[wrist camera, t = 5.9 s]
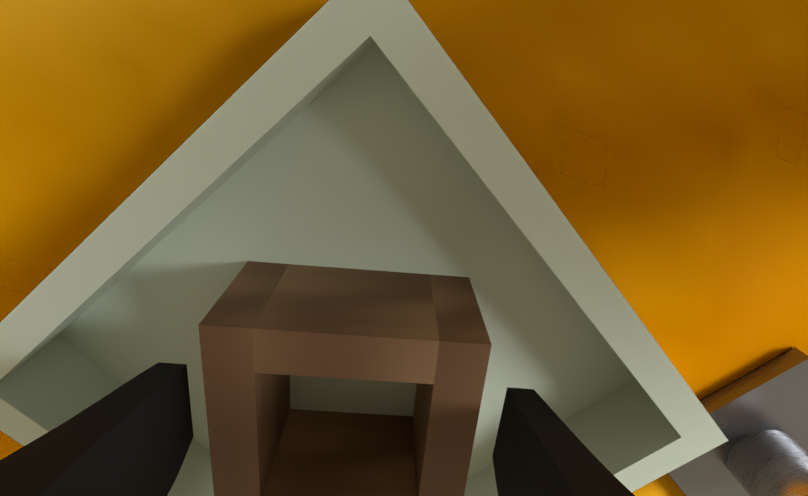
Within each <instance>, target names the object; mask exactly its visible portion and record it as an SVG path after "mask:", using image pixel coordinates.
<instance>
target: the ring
mask: <svg viewBox="0 0 808 496" xmlns="http://www.w3.org/2000/svg"><path fill="white" fill-rule="evenodd" d="M198 327H199V338H200V348H201V359H202V370H203V381H204V392H205V402H206V413H207V424H208V435H209V446H210V456H211V467H212V478H213V489H214V496H464V493H465V487H466V482H467V476H468V471H469V466H470V460H471V455H472V449H473V444H474V438H475V433H476V427H477V422H478V416H479V411H480V406H481V400H482V395H483V389H484V384H485V378H486V373H487V367H488V362H489V357H490V351H491V346H492V344H491V341H490V338H489V335H488V332H487V329H486V326H485V323H484V320H483V317H482V314H481V311H480V308H479V305H478V302H477V299H476V296H475V293H474V290H473V287H472V285H471V282H470V279H469V277H458V276H445V275H431V274H418V273H404V272H390V271H377V270H363V269H350V268H336V267H322V266H309V265H295V264H282V263H268V262H255V261H248V262H247V263H246V264H245V266H244V267H243V268H242V270H241V271H240V272H239V273H238V275H237V276H236V277H235V279H234V280H233V281H232V282H231V284H230V285H229V286H228V288H227V289H226V290H225V291H224V293H223V294H222V295H221V297H220V298H219V299H218V300H217V302H216V303H215V304H214V305H213V307H212V308H211V309H210V311H209V312H208V313H207V314H206V316H205V317H204V318H203V320H202V321H201V322H200V323H199V325H198ZM290 375H294V376H310V377H326V378H342V379H357V380H373V381H389V382H404V383H417V386H416V395H415V403H414V412H413V416H397V415H381V414H364V413H348V412H332V411H315V410H299V409H290Z"/></svg>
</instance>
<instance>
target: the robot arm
mask: <svg viewBox="0 0 808 496" xmlns="http://www.w3.org/2000/svg"><path fill="white" fill-rule="evenodd" d="M193 437H194V436H193V425H192V415H191V405H190V394H189V384H188V373H187V364H175V363H161V362H159V363H157V364H155V365H153V366H152V367H150V368H148V369H147V370H145V371H144V372H142V373H140V374H139V375H137V376H136V377H134V378H133V379H131V380H130V381H128V382H126V383H125V384H123V385H122V386H120V387H119V388H117V389H116V390H114V391H113V392H111V393H110V394H108V395H107V396H105V397H103V398H102V399H100V400H99V401H97V402H96V403H94V404H92V405H91V406H89V407H88V408H86V409H85V410H83V411H81V412H80V413H78V414H77V415H75V416H74V417H72V418H71V419H69V420H67V421H66V422H64V423H63V424H61V425H59V426H58V427H56V428H54V429H53V430H51V431H49V432H47V433H46V434H44V435H42V436H41V437H39V438H37V439H36V440H34V441H32V442H31V443H29V444H27V445H26V446H24V447H22V448H20V449H19V450H17V451H15V452H14V453H12V454H10V455H9V456H7V457H5V458H4V459H2V460H0V496H167V495H168V493H169V491H170V490H171V488H172V486H173V484H174V482H175V480H176V478H177V475H178V473H179V471H180V468H181V466H182V464H183V461H184V459H185V456H186V454H187V451H188V449H189V446H190V444H191V441H192V439H193ZM492 457H493V464H494V472H495V479H496V486H497V492H498V496H635V495H634V494H633V493H631V492H630V491H629V490H628V489H627V488H626V487H625V486H624V485H623V484H622V483H621V482H620V481H619V480H618V479H617V478H616V477H615V476H614V475H613V474H612V473H611V472H610V471H609V470H608V469H607V468H606V467H605V466H604V465H603V464H602V463H601V462H600V461H599V460H598V459H597V458H596V457H595V456H594V455H593V454H592V453H591V452H590V451H589V449H588V448H587V447H586V446H585V445H584V444H583V443H582V442H581V441H580V440H579V439H578V438H577V437H576V435H575V434H574V433H573V432H572V431H571V430H570V429H569V428H568V427H567V426H566V424H565V423H564V422H563V421H562V420H561V419H560V418H559V417H558V416H557V414H556V413H555V412H554V411H553V410H552V409H551V408H550V407H549V406H548V404H547V403H546V402H545V401H544V400H543V399H542V398H541V397H540V396H539V394H538V393H537V392H536V391H535V390H534V389H523V388H509V387H507V391H506V395H505V400H504V405H503V409H502V414H501V418H500V423H499V427H498V432H497V437H496V441H495V446H494V450H493V455H492Z"/></svg>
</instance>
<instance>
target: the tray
mask: <svg viewBox="0 0 808 496" xmlns="http://www.w3.org/2000/svg"><path fill="white" fill-rule="evenodd" d="M248 261H255V262H268V263H282V264H295V265H309V266H322V267H336V268H350V269H363V270H377V271H390V272H404V273H418V274H431V275H445V276H458V277H469V279H470V282H471V285H472V287H473V290H474V293H475V296H476V299H477V302H478V305H479V308H480V311H481V314H482V317H483V320H484V323H485V326H486V329H487V332H488V335H489V338H490V341H491V344H492V346H491V351H490V357H489V362H488V367H487V373H486V378H485V384H484V389H483V395H482V400H481V406H480V411H479V416H478V422H477V427H476V433H475V438H474V444H473V449H472V455H471V460H470V466H469V471H468V476H467V482H466V487H465V493H464V496H498V492H497V486H496V479H495V472H494V464H493V457H492V455H493V450H494V446H495V441H496V437H497V432H498V427H499V423H500V418H501V414H502V409H503V405H504V400H505V395H506V391H507V387H509V388H523V389H534V390H535V391H536V392H537V393H538V394H539V396H540V397H541V398H542V399H543V400H544V401H545V402H546V403H547V404H548V406H549V407H550V408H551V409H552V410H553V411H554V412H555V413H556V414H557V416H558V417H559V418H560V419H561V420H562V421H563V422H564V423H565V424H566V426H567V427H568V428H569V429H570V430H571V431H572V432H573V433H574V434H575V435H576V437H577V438H578V439H579V440H580V441H581V442H582V443H583V444H584V445H585V446H586V447H587V448H588V449H589V451H590V452H591V453H592V454H593V455H594V456H595V457H596V458H597V459H598V460H599V461H600V462H601V463H602V464H603V465H604V466H605V467H606V468H607V469H608V470H609V471H610V472H611V473H612V474H613V475H614V476H615V477H616V478H617V479H618V480H619V481H620V482H621V483H622V484H623V485H624V486H625V487H626V488H627V489H628V490H629V491H630V492H633V491H635V490H637V489H639V488H641V487H643V486H645V485H646V484H648V483H650V482H652V481H654V480H656V479H658V478H659V477H661V476H663V475H665V474H667V473H669V472H671V471H673V470H674V469H676V468H678V467H680V466H682V465H684V464H686V463H688V462H689V461H691V460H693V459H695V458H697V457H699V456H701V455H702V454H704V453H706V452H708V451H710V450H712V449H714V448H716V447H717V446H719V445H721V444H723V443H725V442H727V441H728V439H727V438H726V437H725V435H724V434H723V433H722V431H721V430H720V428H719V427H718V426H717V424H716V423H715V422H714V420H713V419H712V417H711V416H710V415H709V413H708V412H707V411H706V409H705V408H704V406H703V405H702V404H701V402H700V401H699V400H698V398H697V397H696V395H695V394H694V393H693V391H692V390H691V389H690V387H689V386H688V384H687V383H686V382H685V380H684V379H683V378H682V376H681V375H680V373H679V372H678V371H677V369H676V368H675V367H674V365H673V364H672V362H671V361H670V360H669V358H668V357H667V356H666V354H665V353H664V351H663V350H662V349H661V347H660V346H659V345H658V343H657V342H656V340H655V339H654V338H653V336H652V335H651V334H650V332H649V331H648V329H647V328H646V327H645V325H644V324H643V323H642V321H641V320H640V318H639V317H638V316H637V314H636V313H635V312H634V310H633V309H632V307H631V306H630V305H629V303H628V302H627V301H626V299H625V298H624V296H623V295H622V294H621V292H620V291H619V290H618V288H617V287H616V285H615V284H614V283H613V281H612V280H611V279H610V277H609V276H608V274H607V273H606V272H605V270H604V269H603V268H602V266H601V265H600V263H599V262H598V261H597V259H596V258H595V257H594V255H593V254H592V252H591V251H590V250H589V248H588V247H587V246H586V244H585V243H584V241H583V240H582V239H581V237H580V236H579V235H578V233H577V232H576V230H575V229H574V228H573V226H572V225H571V224H570V222H569V221H568V219H567V218H566V217H565V215H564V214H563V213H562V211H561V210H560V208H559V207H558V206H557V204H556V203H555V202H554V200H553V199H552V197H551V196H550V195H549V193H548V192H547V191H546V189H545V188H544V186H543V185H542V184H541V182H540V181H539V180H538V178H537V177H536V175H535V174H534V173H533V171H532V170H531V169H530V167H529V166H528V164H527V163H526V162H525V160H524V159H523V158H522V156H521V155H520V153H519V152H518V151H517V149H516V148H515V147H514V145H513V144H512V142H511V141H510V140H509V138H508V137H507V136H506V134H505V133H504V131H503V130H502V129H501V127H500V126H499V125H498V123H497V122H496V120H495V119H494V118H493V116H492V115H491V114H490V112H489V111H488V109H487V108H486V107H485V105H484V104H483V103H482V101H481V100H480V98H479V97H478V96H477V94H476V93H475V92H474V90H473V89H472V87H471V86H470V85H469V83H468V82H467V81H466V79H465V78H464V76H463V75H462V74H461V72H460V71H459V70H458V68H457V67H456V65H455V64H454V63H453V61H452V60H451V59H450V57H449V56H448V54H447V53H446V52H445V50H444V49H443V48H442V46H441V45H440V43H439V42H438V41H437V39H436V38H435V37H434V35H433V34H432V32H431V31H430V30H429V28H428V27H427V26H426V24H425V23H424V21H423V20H422V19H421V17H420V16H419V15H418V13H417V12H416V10H415V9H414V8H413V6H412V5H411V4H410V2H409V1H408V0H329V1H328V2H327V3H326V4H325V5H324V6H323V7H322V8H321V9H320V10H319V11H318V12H317V13H315V14H314V15H313V16H312V17H311V18H310V19H309V20H308V21H307V22H306V23H305V24H304V25H303V26H302V27H301V28H300V29H299V30H298V31H297V32H296V33H295V34H294V35H293V36H292V37H291V38H290V39H289V40H288V41H287V42H286V43H285V44H284V45H283V46H282V47H281V48H280V49H279V50H278V51H277V52H276V53H275V54H274V55H273V56H272V57H271V58H270V59H269V60H268V61H267V62H265V63H264V64H263V65H262V66H261V67H260V68H259V69H258V70H257V71H256V72H255V73H254V74H253V75H252V76H251V77H250V78H249V79H248V80H247V81H246V82H245V83H244V84H243V85H242V86H241V87H240V88H239V89H238V90H237V91H236V92H235V93H234V94H233V95H232V96H231V97H230V98H229V99H228V100H227V101H226V102H225V103H224V104H223V105H222V106H221V107H220V108H219V109H218V110H217V111H215V112H214V113H213V114H212V115H211V116H210V117H209V118H208V119H207V120H206V121H205V122H204V123H203V124H202V125H201V126H200V127H199V128H198V129H197V130H196V131H195V132H194V133H193V134H192V135H191V136H190V137H189V138H188V139H187V140H186V141H185V142H184V143H183V144H182V145H181V146H180V147H179V148H178V149H177V150H176V151H175V152H174V153H173V154H172V155H171V156H170V157H169V158H168V159H167V160H165V161H164V162H163V163H162V164H161V165H160V166H159V167H158V168H157V169H156V170H155V171H154V172H153V173H152V174H151V175H150V176H149V177H148V178H147V179H146V180H145V181H144V182H143V183H142V184H141V185H140V186H139V187H138V188H137V189H136V190H135V191H134V192H133V193H132V194H131V195H130V196H129V197H128V198H127V199H126V200H125V201H124V202H123V203H122V204H121V205H120V206H119V207H118V208H117V209H115V210H114V211H113V212H112V213H111V214H110V215H109V216H108V217H107V218H106V219H105V220H104V221H103V222H102V223H101V224H100V225H99V226H98V227H97V228H96V229H95V230H94V231H93V232H92V233H91V234H90V235H89V236H88V237H87V238H86V239H85V240H84V241H83V242H82V243H81V244H80V245H79V246H78V247H77V248H76V249H75V250H74V251H73V252H72V253H71V254H70V255H69V256H68V257H67V258H65V259H64V260H63V261H62V262H61V263H60V264H59V265H58V266H57V267H56V268H55V269H54V270H53V271H52V272H51V273H50V274H49V275H48V276H47V277H46V278H45V279H44V280H43V281H42V282H41V283H40V284H39V285H38V286H37V287H36V288H35V289H34V290H33V291H32V292H31V293H30V294H29V295H28V296H27V297H26V298H25V299H24V300H23V301H22V302H21V303H20V304H19V305H18V306H17V307H15V308H14V309H13V310H12V311H11V312H10V313H9V314H8V315H7V316H6V317H5V318H4V319H3V320H2V321H1V322H0V431H2V432H3V433H5V434H6V435H8V436H9V437H11V438H12V439H14V440H15V441H17V442H18V443H20V444H21V445H23V446H26V445H27V444H29V443H31V442H32V441H34V440H36V439H37V438H39V437H41V436H42V435H44V434H46V433H47V432H49V431H51V430H53V429H54V428H56V427H58V426H59V425H61V424H63V423H64V422H66V421H67V420H69V419H71V418H72V417H74V416H75V415H77V414H78V413H80V412H81V411H83V410H85V409H86V408H88V407H89V406H91V405H92V404H94V403H96V402H97V401H99V400H100V399H102V398H103V397H105V396H107V395H108V394H110V393H111V392H113V391H114V390H116V389H117V388H119V387H120V386H122V385H123V384H125V383H126V382H128V381H130V380H131V379H133V378H134V377H136V376H137V375H139V374H140V373H142V372H144V371H145V370H147V369H148V368H150V367H152V366H153V365H155V364H157V363H159V362H161V363H175V364H187V373H188V384H189V394H190V405H191V415H192V425H193V436H194V437H193V439H192V441H191V444H190V446H189V449H188V451H187V454H186V456H185V459H184V461H183V464H182V466H181V468H180V471H179V473H178V475H177V478H176V480H175V482H174V484H173V486H172V488H171V490H170V491H169V493H168V495H167V496H214V489H213V478H212V467H211V456H210V446H209V435H208V424H207V413H206V402H205V392H204V381H203V370H202V359H201V348H200V338H199V327H198V325H199V323H200V322H201V321H202V320H203V318H204V317H205V316H206V314H207V313H208V312H209V311H210V309H211V308H212V307H213V305H214V304H215V303H216V302H217V300H218V299H219V298H220V297H221V295H222V294H223V293H224V291H225V290H226V289H227V288H228V286H229V285H230V284H231V282H232V281H233V280H234V279H235V277H236V276H237V275H238V273H239V272H240V271H241V270H242V268H243V267H244V266H245V264H246V263H247V262H248ZM416 386H417V383H404V382H389V381H373V380H357V379H342V378H326V377H310V376H294V375H290V409H299V410H315V411H332V412H348V413H364V414H381V415H397V416H413V412H414V403H415V395H416Z"/></svg>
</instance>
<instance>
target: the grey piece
mask: <svg viewBox="0 0 808 496" xmlns="http://www.w3.org/2000/svg"><path fill="white" fill-rule="evenodd" d="M700 402H701V404H702V405H703V406H704V408H705V409H706V411H707V412H708V413H709V415H710V416H711V417H712V419H713V420H714V422H715V423H716V424H717V426H718V427H719V428H720V430H721V431H722V433H723V434H724V435H725V437H726V438H727V439H728V441H727V442H725V443H723V444H721V445H719V446H717V447H716V448H714V449H712V450H710V451H708V452H706V453H704V454H702V455H701V456H699V457H697V458H695V459H693V460H691V461H689V462H688V463H686V464H684V465H682V466H680V467H678V468H676V469H674V470H673V471H671V472H669V473H668V474H669V476H670V477H671V478H672V479H673V480H674V482H675V483H676V484H677V485H678V487H679V488H680V489H681V490H682V491H683V493H684V494H685V495H686V496H808V356H807V355H805V354H804V353H803V352H801V351H800V350H798V349H797V348H796V347H795V348H793V349H792V350H790V351H788V352H786V353H784V354H783V355H781V356H779V357H777V358H776V359H774V360H772V361H770V362H768V363H767V364H765V365H763V366H761V367H760V368H758V369H756V370H754V371H753V372H751V373H749V374H747V375H745V376H744V377H742V378H740V379H738V380H737V381H735V382H733V383H731V384H730V385H728V386H726V387H724V388H722V389H721V390H719V391H717V392H715V393H714V394H712V395H710V396H708V397H707V398H705V399H703V400H701V401H700Z"/></svg>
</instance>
